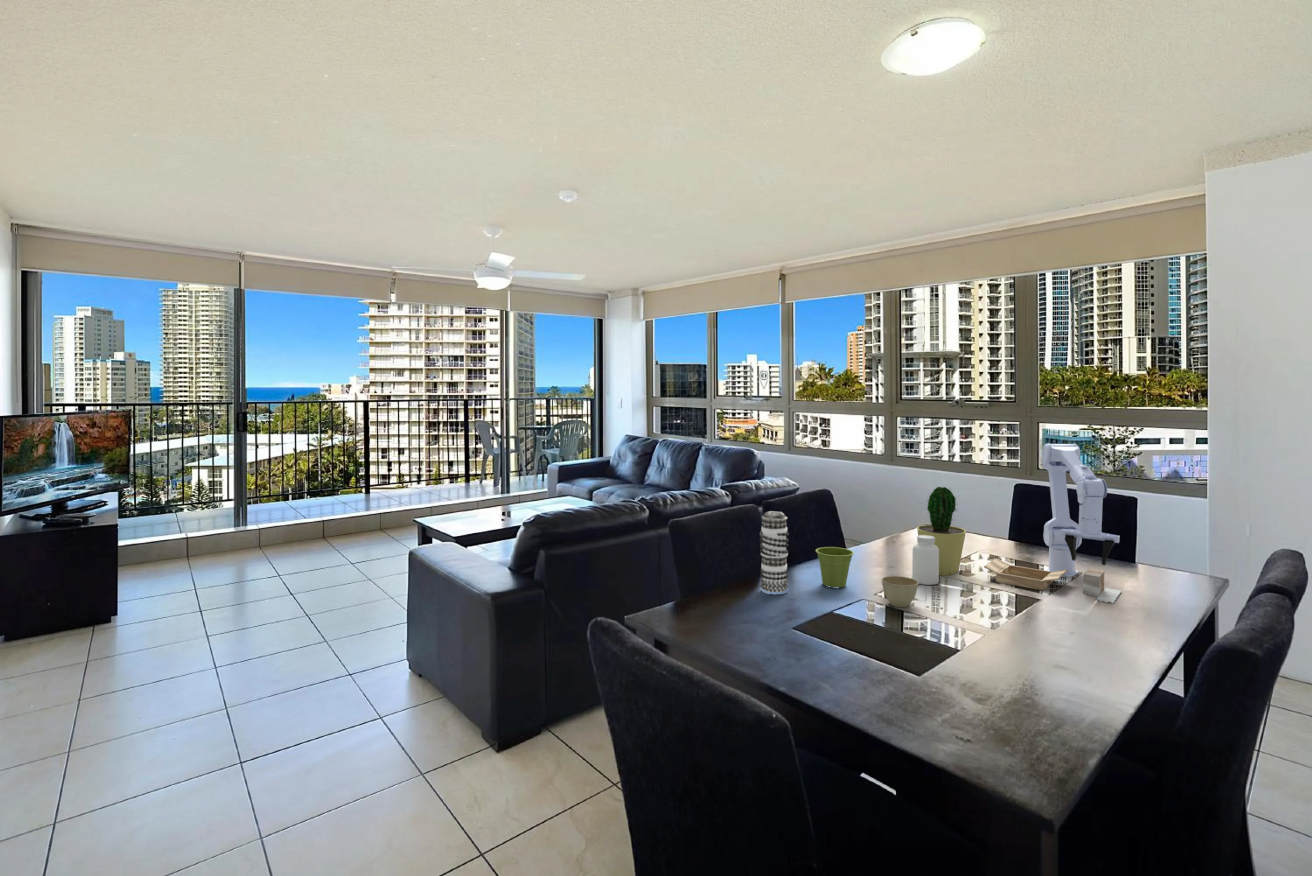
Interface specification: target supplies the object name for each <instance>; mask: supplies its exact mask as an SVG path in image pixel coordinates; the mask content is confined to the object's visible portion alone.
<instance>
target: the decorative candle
mask: <svg viewBox="0 0 1312 876" xmlns="http://www.w3.org/2000/svg"><path fill="white" fill-rule="evenodd" d="M761 520H762V521H761V524H762V525H761V528H760V529H761V530H760V532H759V541H760V544H759V547H760V549H759V552H760V556H762V557H761V564H760V565H761V568H760V569H759V570H760V577H761V578H760V580H759V581H760V589H761V588H762V589H763V590H765V591H769V592H783V591H785V590H786V589H787V590H788V588H789V585H788V583H789V580H788V579H787V578H788V577H789V575H788V573H789V569H788V563H787V557H788V555H789V551H788V549H787V548H788V547H789V546H790V545H789V544H788V542H789V541H790V540H789V538H787V537H788V536H790V533H789V531H788V526H787V520H788V516H786V515H785V513H783V512H782V511H775V510H770V511H766V512H764V514H763V515H762V516H761Z"/></svg>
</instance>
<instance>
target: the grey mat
mask: <svg viewBox="0 0 1312 876" xmlns="http://www.w3.org/2000/svg"><path fill="white" fill-rule="evenodd" d="M1120 593H1122V590H1119V589H1114V588H1107V587H1104V591H1103V592H1102V593H1101V594H1100V596H1097V597H1096V599H1095V601H1096V600H1099V601H1098V602H1102V601H1107V602H1113V603H1114V604H1115V602H1116V601H1117V599H1118V598H1119V597H1118V595H1119V594H1120ZM1120 595H1121V594H1120ZM1120 595H1119V596H1120ZM1117 597H1118V598H1117ZM1116 598H1117V599H1116ZM1115 600H1116V601H1115ZM1114 601H1115V602H1114ZM1107 602H1106V603H1107ZM1113 603H1112V604H1113Z"/></svg>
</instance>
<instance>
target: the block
mask: <svg viewBox="0 0 1312 876" xmlns="http://www.w3.org/2000/svg"><path fill="white" fill-rule="evenodd" d="M1082 579H1083V580H1082V594H1084V595H1090V596H1095V597H1099V596H1100V594H1101V593H1102V592H1103V591H1104V589H1105V570H1099V569H1092V568H1088V569H1087V570H1086V571H1085V572H1084V573H1083V578H1082Z"/></svg>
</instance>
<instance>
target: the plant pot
mask: <svg viewBox="0 0 1312 876" xmlns="http://www.w3.org/2000/svg"><path fill="white" fill-rule="evenodd" d="M815 552H816V554H817V558H818V561H819V562H818V563H819V568H820V574H821V582H822V585H823V584H824V585H823V586H825V585H827V586H830V587H840V588H845V587H846V586H847V581H848V580H847V579H848V575H849V569H850V565H851V561H852V557H853V555H854V554H855V552H854V551H853V550H851V549H848V548H843V547H836V546H824V547H818V548H816V549H815ZM827 586H826V587H827ZM844 586H845V587H844Z"/></svg>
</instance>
